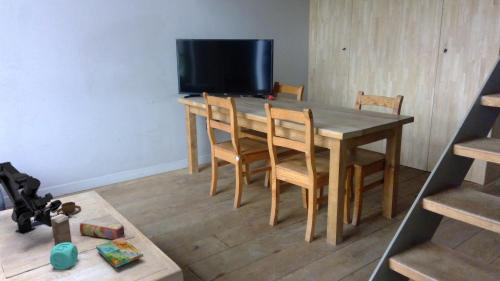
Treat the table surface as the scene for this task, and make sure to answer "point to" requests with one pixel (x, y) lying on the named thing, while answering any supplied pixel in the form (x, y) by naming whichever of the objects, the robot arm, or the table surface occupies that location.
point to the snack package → (101, 229)
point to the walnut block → (61, 229)
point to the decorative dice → (64, 256)
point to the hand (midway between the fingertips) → (51, 226)
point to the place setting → (68, 208)
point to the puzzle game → (119, 251)
